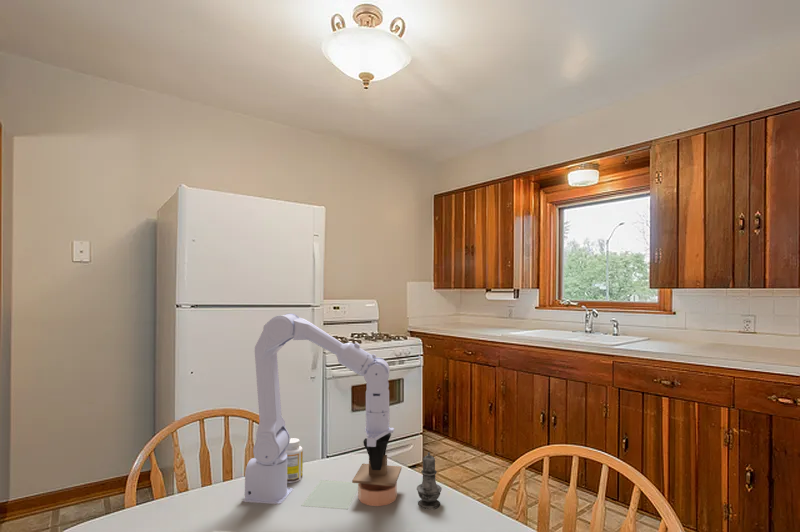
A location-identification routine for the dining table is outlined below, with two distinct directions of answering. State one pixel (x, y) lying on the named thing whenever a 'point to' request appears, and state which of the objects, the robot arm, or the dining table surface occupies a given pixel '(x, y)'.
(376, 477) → the walnut lid
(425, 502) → the salt shaker
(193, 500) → the dining table surface
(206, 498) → the dining table surface
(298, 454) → the supplement bottle
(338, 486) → the sage rubber mat
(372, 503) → the terracotta bowl
